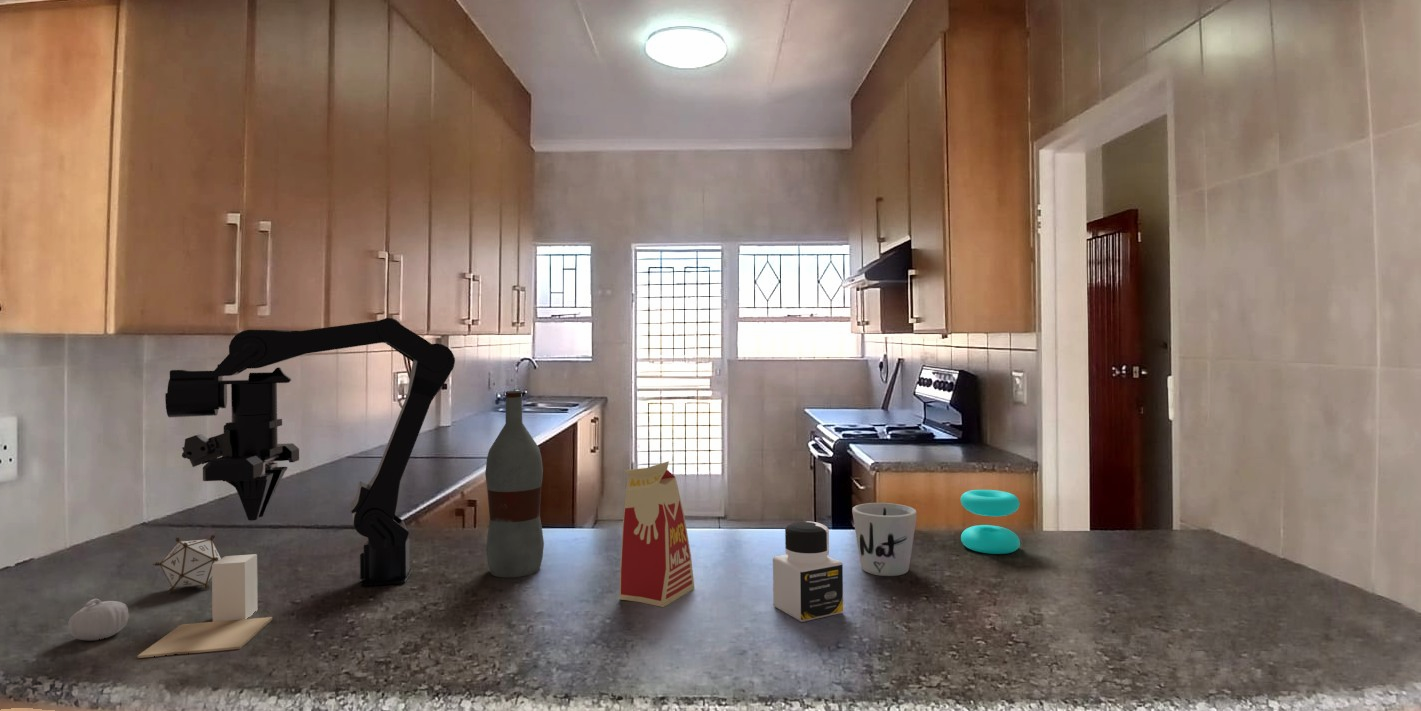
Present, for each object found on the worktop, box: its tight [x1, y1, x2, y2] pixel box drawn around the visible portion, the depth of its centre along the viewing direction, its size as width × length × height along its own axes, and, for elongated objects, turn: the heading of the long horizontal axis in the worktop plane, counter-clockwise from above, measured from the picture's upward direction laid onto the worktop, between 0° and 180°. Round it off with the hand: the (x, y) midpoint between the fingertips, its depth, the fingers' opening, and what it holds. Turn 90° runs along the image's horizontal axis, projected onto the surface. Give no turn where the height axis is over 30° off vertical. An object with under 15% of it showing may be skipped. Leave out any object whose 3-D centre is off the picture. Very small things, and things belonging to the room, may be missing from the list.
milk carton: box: [618, 461, 695, 608], centre depth 105 cm, size 9×9×20 cm
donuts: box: [960, 489, 1021, 555], centre depth 127 cm, size 10×10×10 cm
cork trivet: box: [137, 616, 273, 659], centre depth 90 cm, size 11×10×1 cm
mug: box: [851, 502, 918, 577], centre depth 117 cm, size 10×15×10 cm
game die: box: [152, 533, 223, 594], centre depth 109 cm, size 9×8×10 cm
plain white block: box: [211, 553, 259, 622], centre depth 97 cm, size 4×4×8 cm
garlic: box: [67, 598, 130, 641], centre depth 90 cm, size 6×5×5 cm
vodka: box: [484, 390, 545, 579], centre depth 117 cm, size 9×9×30 cm
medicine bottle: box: [772, 520, 844, 623], centre depth 97 cm, size 7×7×12 cm
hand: (255, 518), depth 104 cm, fingers closed
